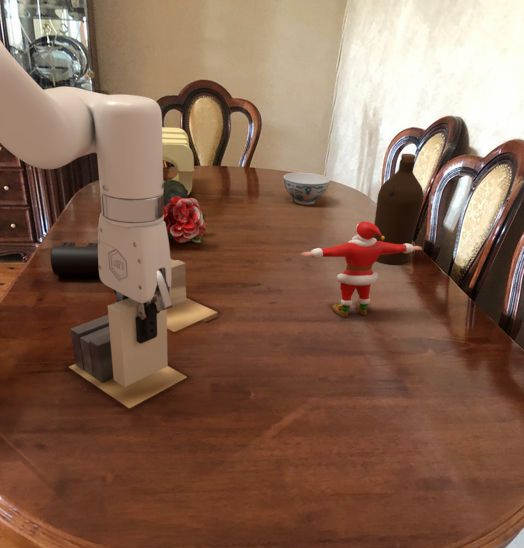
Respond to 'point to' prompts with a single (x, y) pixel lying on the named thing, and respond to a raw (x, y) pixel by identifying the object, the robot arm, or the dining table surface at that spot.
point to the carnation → (182, 214)
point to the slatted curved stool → (178, 154)
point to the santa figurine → (359, 264)
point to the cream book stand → (184, 302)
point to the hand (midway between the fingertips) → (139, 334)
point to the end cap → (75, 260)
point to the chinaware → (306, 186)
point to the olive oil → (399, 209)
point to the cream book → (135, 344)
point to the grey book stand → (99, 370)
